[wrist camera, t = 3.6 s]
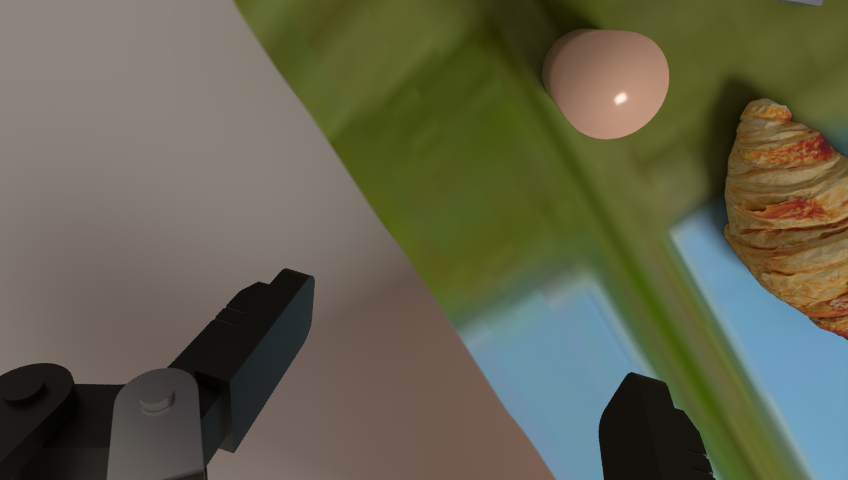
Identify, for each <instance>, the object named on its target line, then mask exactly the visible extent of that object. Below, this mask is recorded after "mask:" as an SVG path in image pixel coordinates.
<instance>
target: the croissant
mask: <svg viewBox="0 0 848 480" xmlns="http://www.w3.org/2000/svg"><path fill="white" fill-rule="evenodd" d="M792 118H793V117H792V115H791V113H790V111H789V109H787V106H785V105H779V104H778V103H776V102H774V101H772V100H770V99H760V100H756V101H751V102H750V103H749V104H748V105H747V107H746V108H745V110H744V111H743V113H742V115H741V117H740V120H741V122H740V124H739V125H738V128H737V130H736V132H737V136H736V140H735V143H734V146H733V148H732V151H731V153H730V155H729V160H728V174H727V178H726V180H725V183H726V187H725V200H726V207H727V215H728V221H729V223H728V224H727V225H725V228H724V236H725V238H726V240H727V242H728V243H729V244H730V246H731V247H732V249H733V250H734V251H735V253H736V255H737V256H738V257H739V258H740V259H741V261H742V262H743V263H744V265H745V266H746V267H747V268H748V270H749V271H750V272H751V273H752V275H753V276H754V277H755V278H756V280H757V281H758V282H759V283H760V285H761V286H762V287H764V288H765V289H766V290H767V291H768V292H770V293H771V294H773V295H774V296H776V297H777V298H778V299H780V300H781V301H785V302H786V303H787V304H789V305H790V306H792V307H794V308H795V309H797V310H799V311H800V312H802V313H803V314H805V315H807V316H808V317H809V319H810V320H811V321H812V322H813V323H814V324H815V325H816V326H818V327H819V328H821V329H824V330H827V331H830V332H833V333H835V334H837V335H838V336H842V337H844V338H845V339H847V340H848V157H845V156H843V155H841V154H840V153H838V152H837V151H835V150H834V149H833V148H832V146H831V145H830V144H829V142H828V141H827V140H826V138H825V137H824V136H823V134H822V133H821V132H819V131H817V130H816V129H811V128H808V127H806V126H805V125H804V124H803V123H802V122H792Z"/></svg>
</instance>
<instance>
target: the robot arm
mask: <svg viewBox="0 0 848 480" xmlns="http://www.w3.org/2000/svg"><path fill="white" fill-rule="evenodd" d="M314 285H315V280H314V277H313V276H310V275H307V274H304V273H300V272H297V271H294V270H290V269H287V268H285V269H283V270H282V271H281V272H280V273H279V274H278V275H277V276H276V278H275V279H274V280H273V281H272V282H271V283H270V284H265V283H262V282H257V283H255V284H253V285H251V286H249V287H247V288H245V289H243V290H241V291H240V292H239V293H238V294H237V295H236V296H235V297H234V298H233V299H232V300H231V301H230V302H229V303H228V304H227V306H226V308H224V309H222V311H221V312H220V313H219V314H218V315H217V316H216V318H215V320H212V321H211V322H210V323H209V324H208V325H207V326H206V327H205V329H204V330H203V331H202V332H201V333H200V334H199V335H198V336H197V337H196V338H195V339H194V340H193V341H192V342H191V343H190V345H188V347H187V348H186V349H185V350H184V351H183V352H182V353H181V354H180V355H179V356H178V357H177V358H176V359H175V361H173V362H172V363H171V364H170V365H169V366H168V367H167V368H161V369H155V370H151V371H148V372H145V373H143V374H141V375H139V376H137V377H135V378H134V379H132V380H131V381H129V382H128V383H127V384H123V385H104V384H102V385H101V384H100V385H99V384H75V383H74V380H73V377H72V375H71V373H70V372H69V371H68V370H67V369H66V368H64V367H62V366H60V365H57V364H51V363H39V364H31V365H27V366H23V367H19V368H17V369H14V370H11V371H9V372H7V373H5V374H3V375H1V376H0V480H208V474H207V464H208V463H209V461H210V460H211V459H212V457H213V456H214V454H215V453H216V451H217V450H218V448H220V449H223V450H226V451H229V452H231V453H234V452H235V451H236V449H237V447H238V446H239V444H240V443H241V441H242V440H243V438H244V437H245V435H246V433H247V432H248V430H249V429H250V427H251V426H252V424H253V422H254V421H255V419H256V418H257V416H258V414H259V413H260V411H261V410H262V408H263V407H264V405H265V404H266V402H267V400H268V399H269V397H270V396H271V394H272V393H273V391H274V389H275V388H276V386H277V385H278V383H279V382H280V380H281V378H282V377H283V375H284V374H285V372H286V371H287V369H288V367H289V366H290V364H291V363H292V361H293V359H294V358H295V356H296V355H297V353H298V352H299V350H300V349H301V347H302V345H303V344H304V342H305V340H306V338H307V336H308V333H309V330H310V326H311V321H312V310H313V298H314ZM599 443H600V451H601V459H602V467H603V475H604V480H716V479H715V478H713V471H712V468H711V465H710V462H709V459H707V458H706V456H707V453H706V450H705V448H704V445H703V442H702V439H701V436H700V433H699V431H698V430H697V429H696V427H695V426H694V425H693V423H692V422H691V420H690V419H689V418H688V416H687V415H686V413H685V412H684V411H683V410H679V409H676V408H674V405H673V402H672V399H671V395H670V392H669V389H668V386H667V385H666V383H665V382H663V381H660V380H656V379H653V378H650V377H646V376H643V375H640V374H636V373H633V372H631V373H629V374H627V375H626V377H625V378H624V380H623V381H622V383H621V384H620V386H619V388H618V389H617V391H616V392H615V394H614V395H613V397H612V399H611V400H610V402H609V403H608V405H607V407H606V408H605V410H604V411H603V414H602V416H601V419H600V424H599Z"/></svg>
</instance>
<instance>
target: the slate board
mask: <svg viewBox="0 0 848 480" xmlns="http://www.w3.org/2000/svg"><path fill="white" fill-rule="evenodd" d="M774 1H779V2H785V3H791V4H796V5H802V6H808V7H812V6H821V4H822V2H823V0H774Z"/></svg>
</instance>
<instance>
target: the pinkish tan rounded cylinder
mask: <svg viewBox="0 0 848 480" xmlns="http://www.w3.org/2000/svg"><path fill="white" fill-rule="evenodd" d="M542 80H543V84H544V87H545V89H546V91H547V93H548V94H549V96H550V97H551V98H552V100H553V101H554V102H555V104H556V105H557V106H558V107H559V109H560V110H561V111H562V113H563V114H564V115H565V117H566V118H567V119H568V121H569V122H570V123H571V124H572V125H573V126H574V127H575V128H576V129H577V130H578V131H580V132H582V133H583V134H585V135H588V136H590V137H594V138H598V139H614V138H619V137H623V136H626V135H629V134H631V133H633V132H635V131H637V130H638V129H640V128H641V127H643V126H644V125H645V124H647V123H648V122H649V121H650V120H651V119H652V118H653V117H654V115H655V114H656V113H657V112H658V110H659V109H660V107H661V105H662V103H663V101H664V99H665V97H666V94H667V90H668V85H669V68H668V64H667V61H666V58H665V56H664V54H663V52H662V51H661V49H660V48H659V47H658V46H657V44H655V43H654V42H653V41H652V40H651V39H649V38H647V37H646V36H644V35H641V34H639V33H635V32H629V31H617V30H603V29H589V28H582V29H576V30H573V31H570V32H568V33H566V34H564V35H563V36H561V37H560V38H559V39H557V40H556V41H555V42H554V43H553V45H552V46H551V47H550V48H549V50H548V52H547V54H546V56H545V58H544V61H543V65H542Z"/></svg>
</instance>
